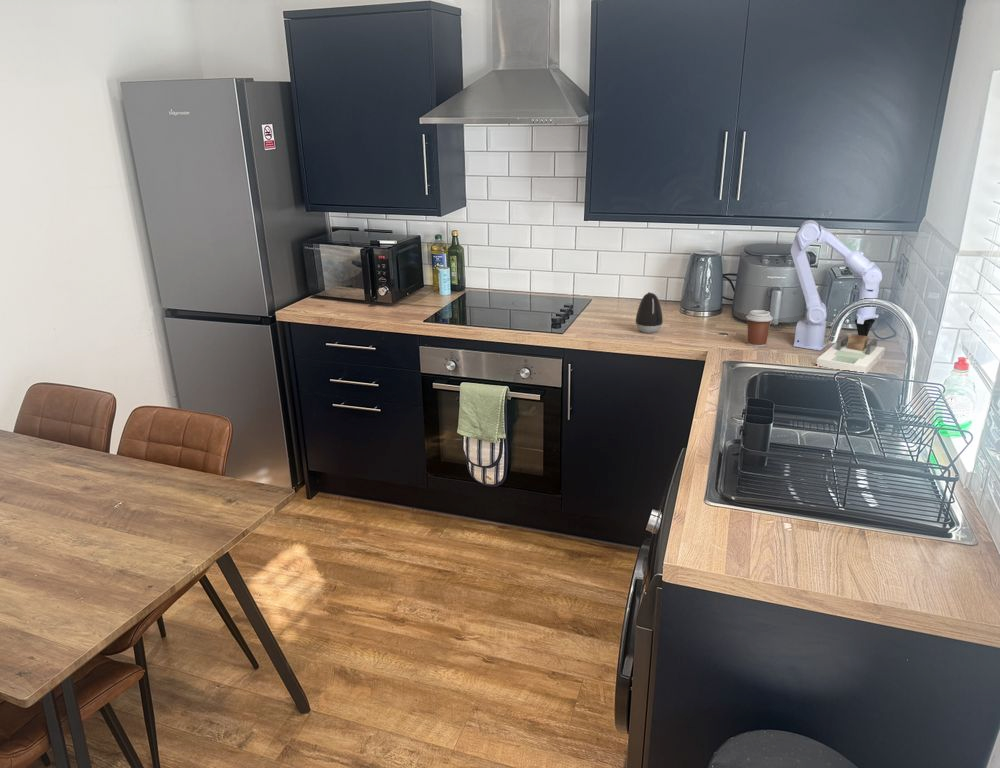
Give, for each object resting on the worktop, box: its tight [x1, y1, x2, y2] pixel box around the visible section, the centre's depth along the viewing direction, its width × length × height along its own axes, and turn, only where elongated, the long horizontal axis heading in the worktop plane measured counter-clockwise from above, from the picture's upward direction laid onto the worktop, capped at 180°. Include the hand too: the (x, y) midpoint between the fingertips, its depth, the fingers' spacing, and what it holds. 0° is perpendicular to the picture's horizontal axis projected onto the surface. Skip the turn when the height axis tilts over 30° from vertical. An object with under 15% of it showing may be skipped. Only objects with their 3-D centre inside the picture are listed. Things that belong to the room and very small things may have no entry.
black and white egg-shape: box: [635, 292, 664, 334], centre depth 282 cm, size 10×10×15 cm
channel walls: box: [836, 334, 878, 355], centre depth 249 cm, size 10×10×3 cm
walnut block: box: [847, 333, 869, 351], centre depth 250 cm, size 5×5×4 cm
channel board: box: [815, 341, 886, 374], centre depth 246 cm, size 15×26×2 cm, turn 142°
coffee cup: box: [745, 309, 774, 348], centre depth 264 cm, size 9×9×12 cm
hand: (861, 339), depth 255 cm, fingers closed
